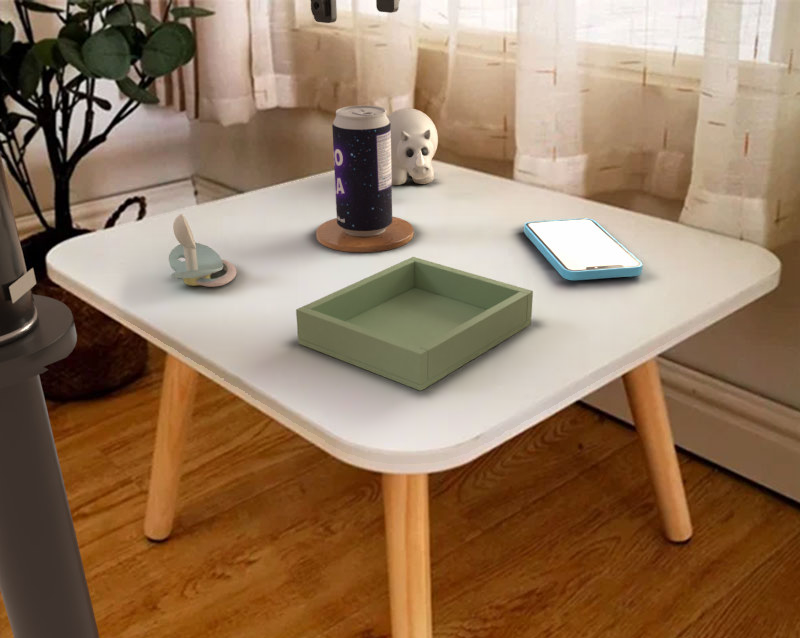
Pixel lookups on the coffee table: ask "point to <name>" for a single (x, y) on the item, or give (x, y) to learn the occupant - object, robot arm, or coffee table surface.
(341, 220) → the beverage can
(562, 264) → the smartphone
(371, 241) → the coaster
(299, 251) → the coffee table surface
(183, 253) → the pacifier
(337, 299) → the tray
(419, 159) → the round bodied animal figurine
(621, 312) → the coffee table surface
